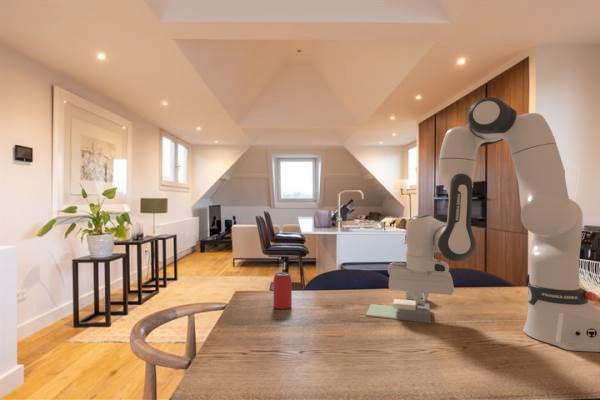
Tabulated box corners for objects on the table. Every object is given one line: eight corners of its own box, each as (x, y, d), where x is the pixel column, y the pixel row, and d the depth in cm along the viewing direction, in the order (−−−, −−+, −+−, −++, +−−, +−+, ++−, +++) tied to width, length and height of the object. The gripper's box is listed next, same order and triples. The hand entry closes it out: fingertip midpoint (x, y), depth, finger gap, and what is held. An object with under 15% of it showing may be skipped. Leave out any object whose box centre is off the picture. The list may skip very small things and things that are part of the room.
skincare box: (416, 300, 125) (415, 269, 125) (405, 298, 128) (404, 267, 128) (423, 297, 129) (423, 266, 129) (412, 295, 132) (412, 265, 132)
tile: (415, 305, 111) (415, 300, 112) (415, 310, 106) (415, 305, 106) (394, 303, 114) (394, 298, 114) (393, 308, 108) (393, 303, 108)
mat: (399, 308, 116) (399, 306, 116) (397, 319, 105) (397, 317, 105) (370, 305, 120) (370, 303, 120) (365, 316, 108) (365, 314, 108)
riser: (429, 311, 113) (429, 303, 113) (430, 323, 101) (430, 315, 101) (399, 308, 116) (399, 301, 116) (397, 319, 105) (397, 311, 105)
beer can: (292, 304, 121) (292, 272, 121) (290, 310, 115) (290, 276, 115) (275, 304, 122) (275, 271, 122) (272, 309, 115) (271, 275, 116)
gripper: (386, 263, 109) (387, 305, 109) (454, 267, 102) (454, 311, 102) (388, 260, 115) (388, 299, 115) (452, 263, 108) (452, 305, 108)
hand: (420, 305), depth 108 cm, fingers closed
